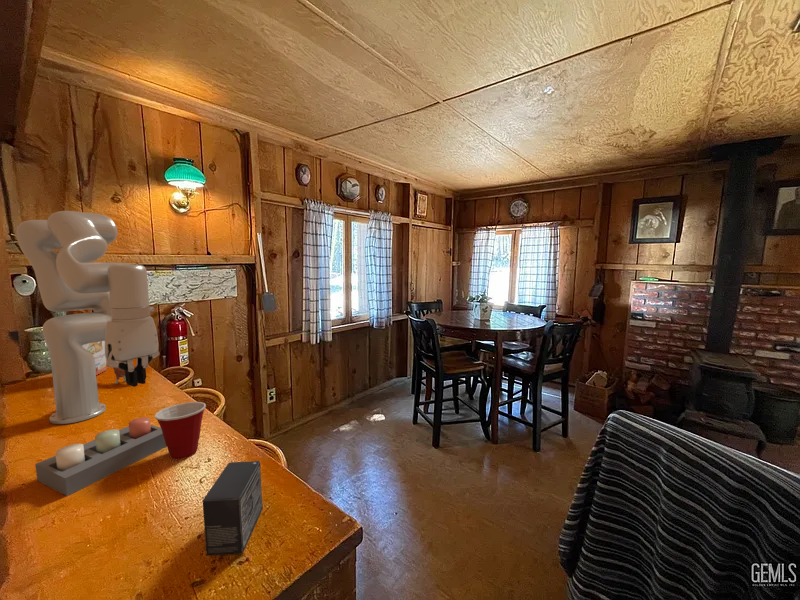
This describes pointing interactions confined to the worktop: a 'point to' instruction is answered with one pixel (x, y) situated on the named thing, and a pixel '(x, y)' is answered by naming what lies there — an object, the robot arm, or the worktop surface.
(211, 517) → the small box
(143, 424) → the brick button
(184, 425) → the plastic cup
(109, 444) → the sage button
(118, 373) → the bull figurine
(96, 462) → the panel
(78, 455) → the ivory button
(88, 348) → the cracker box
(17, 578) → the worktop surface
